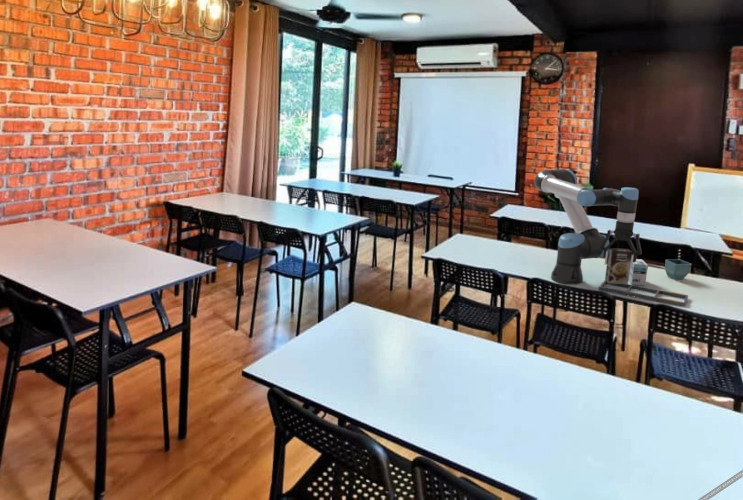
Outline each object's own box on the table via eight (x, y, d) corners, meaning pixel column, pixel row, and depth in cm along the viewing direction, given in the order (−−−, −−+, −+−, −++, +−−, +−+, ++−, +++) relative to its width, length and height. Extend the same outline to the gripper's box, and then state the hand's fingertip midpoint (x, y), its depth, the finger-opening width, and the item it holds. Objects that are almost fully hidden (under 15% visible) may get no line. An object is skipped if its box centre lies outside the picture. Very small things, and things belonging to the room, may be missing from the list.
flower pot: (689, 280, 272) (692, 264, 269) (673, 281, 271) (676, 264, 268) (677, 275, 280) (680, 259, 278) (662, 275, 279) (664, 259, 277)
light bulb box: (645, 285, 262) (648, 264, 260) (630, 284, 264) (634, 263, 261) (639, 279, 273) (642, 259, 270) (625, 278, 274) (628, 258, 271)
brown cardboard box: (608, 283, 253) (612, 251, 249) (604, 279, 259) (608, 247, 255) (628, 284, 252) (632, 251, 248) (624, 280, 258) (628, 248, 254)
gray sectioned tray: (598, 290, 254) (599, 286, 254) (604, 283, 265) (605, 279, 264) (684, 306, 235) (685, 303, 234) (687, 298, 245) (688, 294, 245)
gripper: (597, 218, 251) (591, 263, 257) (651, 225, 238) (643, 272, 244) (601, 216, 257) (594, 260, 263) (653, 223, 244) (646, 268, 250)
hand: (618, 266), depth 253 cm, fingers closed on brown cardboard box, 10 cm apart
